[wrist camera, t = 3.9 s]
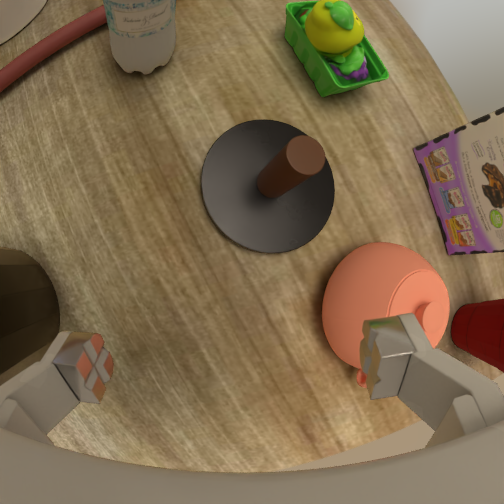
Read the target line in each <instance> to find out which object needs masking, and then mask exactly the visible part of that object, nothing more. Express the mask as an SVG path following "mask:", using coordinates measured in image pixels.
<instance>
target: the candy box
mask: <svg viewBox="0 0 504 504" xmlns="http://www.w3.org/2000/svg"><path fill="white" fill-rule="evenodd" d="M413 149H414V150H413V151H414V153H415V156H416V159H417V161H418V164H419V166H420V168H421V171H422V174H423V176H424V179H425V182H426V185H427V187H428V190H429V193H430V196H431V199H432V202H433V205H434V208H435V210H436V214H437V217H438V220H439V224H440V227H441V230H442V233H443V237H444V241H445V244H446V248H447V251H448V255H463V254H479V253H494V252H504V107H503V108H501V109H498V110H496V111H494V112H492V113H490V114H487V115H485V116H483V117H480V118H478V119H476V120H474V121H472V122H469V123H467V124H465V125H463V126H461V127H459V128H456V129H454V130H452V131H450V132H448V133H446V134H443V135H441V136H439V137H437V138H435V139H433V140H430V141H428V142H426V143H424V144H422V145H419V146H416V147H414V148H413Z"/></svg>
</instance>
